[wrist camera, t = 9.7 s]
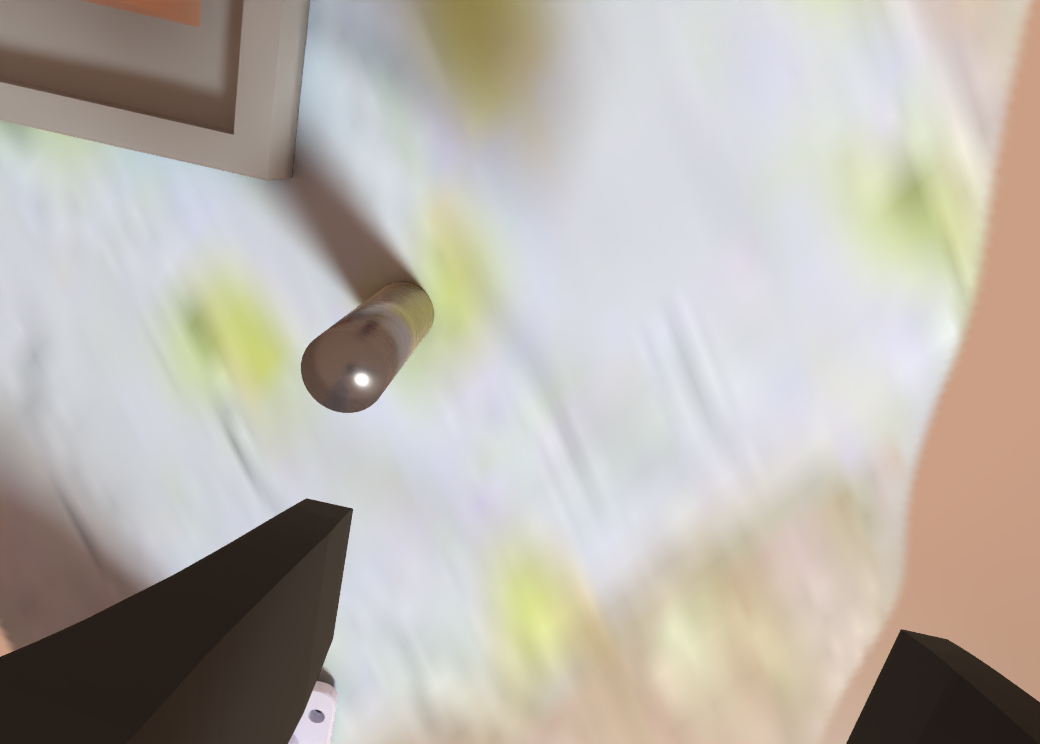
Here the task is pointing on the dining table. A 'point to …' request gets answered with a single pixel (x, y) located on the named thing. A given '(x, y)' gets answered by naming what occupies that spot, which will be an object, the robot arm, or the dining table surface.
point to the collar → (159, 9)
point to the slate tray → (161, 79)
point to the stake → (367, 348)
